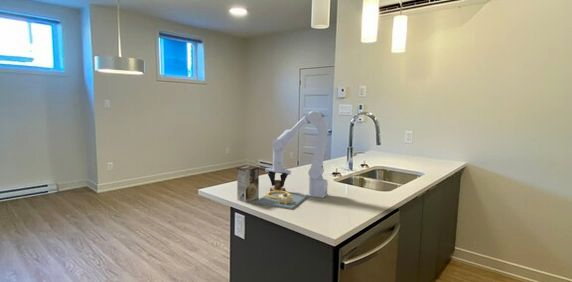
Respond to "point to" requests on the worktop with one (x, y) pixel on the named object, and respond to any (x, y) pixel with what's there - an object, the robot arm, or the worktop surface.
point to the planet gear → (277, 186)
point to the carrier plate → (275, 203)
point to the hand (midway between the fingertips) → (277, 186)
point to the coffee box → (247, 183)
